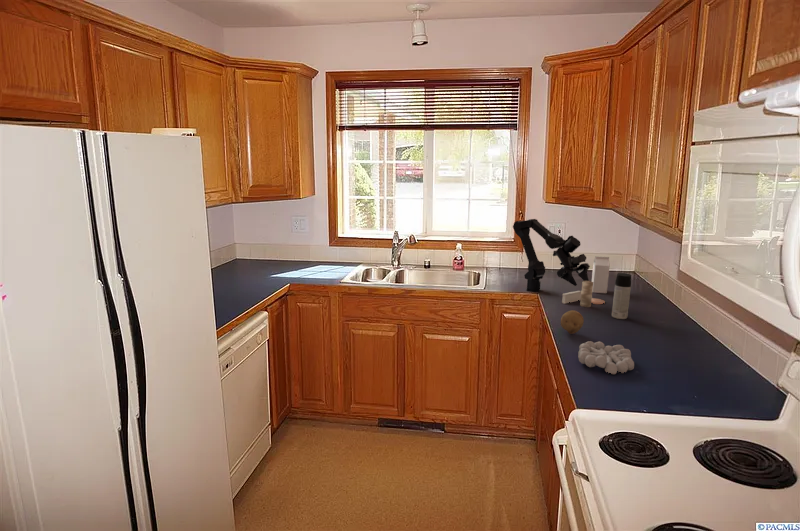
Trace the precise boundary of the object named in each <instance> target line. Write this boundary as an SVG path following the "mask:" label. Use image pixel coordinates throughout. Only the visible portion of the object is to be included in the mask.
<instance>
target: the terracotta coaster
mask: <svg viewBox="0 0 800 531" xmlns="http://www.w3.org/2000/svg"><path fill="white" fill-rule="evenodd" d="M591 303H593V304H592V305H604V304H605V303H606V300H603V299H601V298H595V297H592V301H591ZM603 303H604V304H603Z"/></svg>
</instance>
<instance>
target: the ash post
mask: <svg viewBox="0 0 800 531" xmlns="http://www.w3.org/2000/svg"><path fill="white" fill-rule="evenodd" d="M580 291H581V299H580V303H579V304H580V305H579V306H581V307H583V308H591V307H592V304H591V301H592V298H593V292H592V291H593V282H592V280H589V281H584V280H583V281H582V283H581V290H580Z"/></svg>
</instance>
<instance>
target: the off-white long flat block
mask: <svg viewBox="0 0 800 531" xmlns="http://www.w3.org/2000/svg"><path fill="white" fill-rule="evenodd" d="M581 291H582V290H575V291H570V292H565V293H562V300H561V303H562V304H564V305H565V304H569V302H570V303H573V302H578V300H579V301H581Z"/></svg>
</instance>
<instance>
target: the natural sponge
mask: <svg viewBox="0 0 800 531" xmlns="http://www.w3.org/2000/svg"><path fill="white" fill-rule="evenodd" d="M583 325H584V317H583V315H582V314H581V313H580V312H579V311H577V310H575V309H574V310H568V311H566V312H565V313H563V314H562V315H561V318H560V326H561V328H562V329H563V330H564V331H566V332H567V333H568V334H570V335H573V334H574V335H575V334H577V333H578V332H579V331H580V330H581V329H582V327H583Z"/></svg>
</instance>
